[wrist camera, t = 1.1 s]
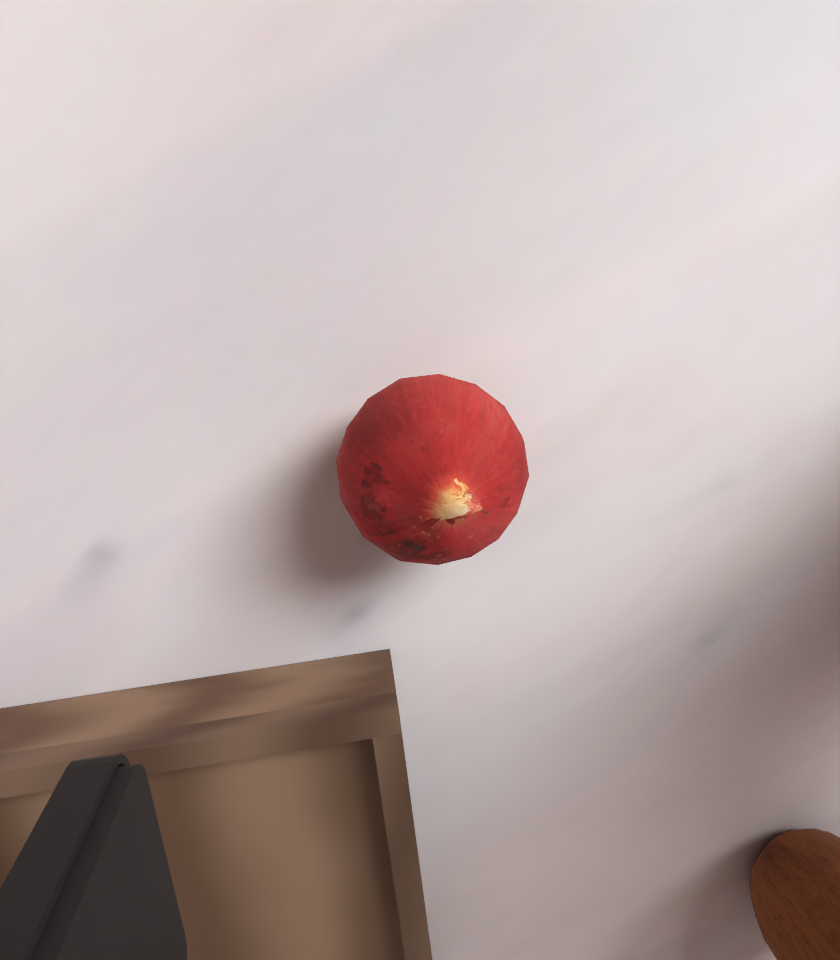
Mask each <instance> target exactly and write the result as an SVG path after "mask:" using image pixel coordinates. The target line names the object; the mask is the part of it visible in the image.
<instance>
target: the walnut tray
mask: <svg viewBox="0 0 840 960" xmlns="http://www.w3.org/2000/svg"><path fill="white" fill-rule="evenodd" d="M115 754H123V755H125V756H126V757H127V759H128V760H129V763H130V765H136V764H141V765H143V767H144V768H145V771H146V774H147V778H148V782H149V786H150V790H151V795H152V799H153V803H154V807H155V811H156V815H157V820H158V824H159V828H160V832H161V836H162V840H163V844H164V849H165V853H166V857H167V861H168V865H169V869H170V874H171V878H172V882H173V886H174V890H175V894H176V899H177V903H178V907H179V911H180V915H181V919H182V923H183V928H184V932H185V936H186V942H187V960H432V955H431V948H430V940H429V933H428V926H427V918H426V911H425V903H424V896H423V888H422V881H421V873H420V866H419V859H418V851H417V844H416V836H415V829H414V821H413V814H412V806H411V799H410V792H409V784H408V777H407V769H406V762H405V754H404V747H403V739H402V732H401V725H400V717H399V710H398V703H397V696H396V689H395V682H394V675H393V668H392V662H391V655H390V649H387V650H381V651H374V652H367V653H361V654H354V655H348V656H341V657H335V658H328V659H322V660H315V661H309V662H302V663H296V664H289V665H282V666H276V667H269V668H263V669H256V670H250V671H243V672H237V673H230V674H224V675H217V676H211V677H204V678H197V679H191V680H184V681H178V682H171V683H165V684H158V685H152V686H145V687H139V688H132V689H126V690H119V691H112V692H106V693H99V694H93V695H86V696H80V697H73V698H67V699H60V700H54V701H47V702H41V703H34V704H28V705H21V706H14V707H8V708H1V709H0V888H1V886H2V885H3V883H4V881H5V879H6V877H7V875H8V874H9V872H10V870H11V868H12V866H13V864H14V863H15V861H16V859H17V857H18V855H19V853H20V852H21V850H22V848H23V846H24V844H25V842H26V841H27V839H28V837H29V835H30V833H31V831H32V830H33V828H34V826H35V824H36V822H37V820H38V819H39V817H40V815H41V813H42V811H43V809H44V808H45V806H46V804H47V802H48V800H49V798H50V797H51V795H52V793H53V791H54V789H55V787H56V786H57V784H58V782H59V780H60V778H61V776H62V775H63V773H64V771H65V769H66V768H67V766H68V765H69V764H70V762H72V761H74V760H79V759H86V758H94V757H101V756H108V755H115Z"/></svg>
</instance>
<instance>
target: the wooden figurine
mask: <svg viewBox="0 0 840 960" xmlns="http://www.w3.org/2000/svg"><path fill="white" fill-rule="evenodd" d="M750 891H751V899H752V903H753V907H754V911H755V916H756V918H757V921H758V924H759V926H760V929H761V932H762V934H763V937H764V940H765V941H766V943H767V944H768V946H769V948H770V949H771V951H772V952H773V954H774V956H775V957H776V959H777V960H840V838H839V837H837V836H835V835H833V834H831V833H828V832H825V831H821V830H817V829H802V830H790V831H788V832H785V833H783V834H780V835H778V836H776V837H774V838H773V839H772V840H771V841H770V842H769V843H768V844H767V845H766V846H765V847H764V848H763V850H762V851H761V853H760V855H759V856H758V858H757V860H756V861H755V863H754V864H753V866H752V870H751V877H750Z"/></svg>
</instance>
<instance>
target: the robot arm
mask: <svg viewBox="0 0 840 960" xmlns="http://www.w3.org/2000/svg"><path fill="white" fill-rule="evenodd" d="M0 960H187V942H186V936H185V932H184V928H183V923H182V919H181V915H180V911H179V907H178V903H177V899H176V894H175V890H174V886H173V882H172V878H171V874H170V869H169V865H168V861H167V857H166V853H165V849H164V844H163V840H162V836H161V832H160V828H159V824H158V820H157V815H156V811H155V807H154V803H153V799H152V795H151V790H150V786H149V782H148V778H147V774H146V771H145V768H144V767H143V765H141V764H136V765H130V763H129V760H128V759H127V757H126V756H125V755H123V754H115V755H108V756H101V757H94V758H86V759H79V760H74V761H72V762H70V764H69V765H68V766H67V768H66V769H65V771H64V773H63V775H62V776H61V778H60V780H59V782H58V784H57V786H56V787H55V789H54V791H53V793H52V795H51V797H50V798H49V800H48V802H47V804H46V806H45V808H44V809H43V811H42V813H41V815H40V817H39V819H38V820H37V822H36V824H35V826H34V828H33V830H32V831H31V833H30V835H29V837H28V839H27V841H26V842H25V844H24V846H23V848H22V850H21V852H20V853H19V855H18V857H17V859H16V861H15V863H14V864H13V866H12V868H11V870H10V872H9V874H8V875H7V877H6V879H5V881H4V883H3V885H2V886H1V888H0Z"/></svg>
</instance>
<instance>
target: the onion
mask: <svg viewBox="0 0 840 960" xmlns="http://www.w3.org/2000/svg"><path fill="white" fill-rule="evenodd" d="M336 462H337V471H338V479H339V488H340V497H341V499H342V501H343V504H344V506H345V507H346V509H347V510H348V512H349V514H350V515H351V517H352V519H353V520H354V522H355V524H356V525H357V527H358V529H359V530H360V532H361V534H362V535H363V537H364V538H366V539H367V540H369V541H370V542H372V543H373V544H375V545H376V546H378V547H379V548H381V549H382V550H384V551H385V552H386V553H388V554H389V555H391V556H392V557H394V558H395V559H398V560H400V561H405V562H415V563H425V564H435V565H439V564H443V563H447V562H452V561H456V560H460V559H464V558H468V557H472V556H473V555H475V554H476V553H478V552H479V551H481V550H482V549H484V548H485V547H487V546H488V545H490V544H491V543H493V542H495V541H496V540H498V539H499V538H500V536H501V535H502V533H503V532H504V531H505V529H506V528H507V527H508V525H509V524H510V522H511V521H512V520H513V518H514V517H515V515H516V514H517V512H518V509H519V506H520V503H521V500H522V497H523V493H524V490H525V487H526V484H527V481H528V478H529V473H528V466H527V459H526V452H525V445H524V441H523V438H522V435H521V433H520V432H519V430H518V428H517V427H516V425H515V423H514V422H513V420H512V418H511V417H510V415H509V413H508V412H507V410H506V408H505V407H504V406H503V405H502V404H501V403H499V402H498V401H497V400H496V399H494V398H493V397H492V396H490V395H489V394H488V393H486V392H485V391H484V390H482V389H481V388H480V387H478V386H477V385H476V384H472V383H469V382H465V381H462V380H458V379H455V378H451V377H448V376H444V375H441V374H436V375H427V376H419V377H410V378H402V379H399V380H397V381H396V382H394V383H393V384H391V385H389V386H388V387H386V388H385V389H383V390H381V391H380V392H378V393H377V394H375V395H373V396H372V397H370V398H369V399H367V401H366V402H365V404H364V405H363V406H362V408H361V409H360V410H359V412H358V413H357V415H356V416H355V417H354V419H353V420H352V421H351V422H350V424H349V425H348V427H347V429H346V432H345V436H344V439H343V442H342V445H341V448H340V451H339V455H338V458H337V461H336Z"/></svg>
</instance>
